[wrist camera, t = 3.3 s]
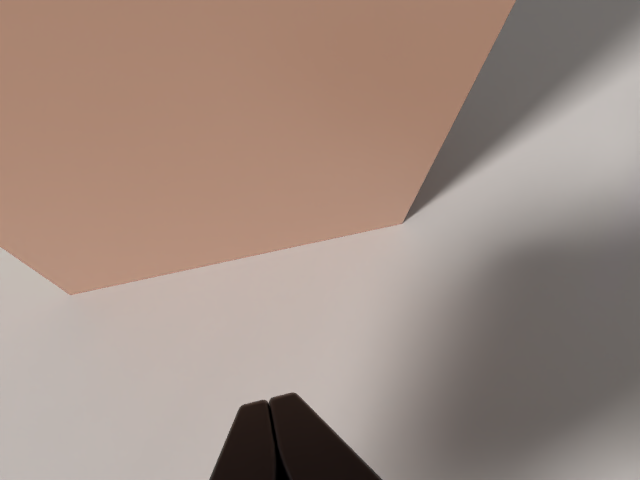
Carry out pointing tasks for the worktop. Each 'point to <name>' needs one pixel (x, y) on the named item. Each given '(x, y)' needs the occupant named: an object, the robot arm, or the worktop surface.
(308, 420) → the robot arm
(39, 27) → the tan flat block
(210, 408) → the worktop surface
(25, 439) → the worktop surface
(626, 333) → the worktop surface
